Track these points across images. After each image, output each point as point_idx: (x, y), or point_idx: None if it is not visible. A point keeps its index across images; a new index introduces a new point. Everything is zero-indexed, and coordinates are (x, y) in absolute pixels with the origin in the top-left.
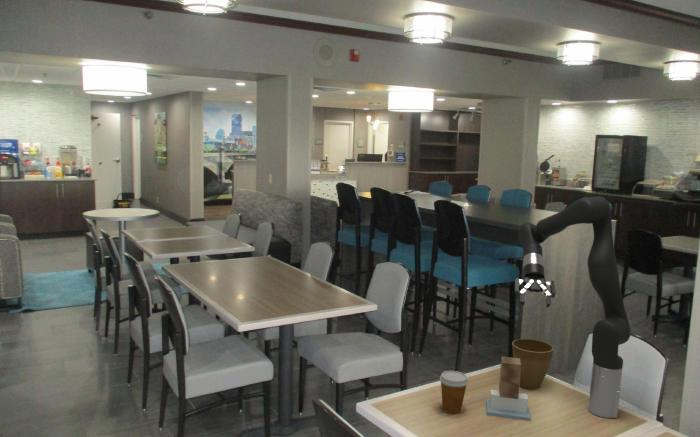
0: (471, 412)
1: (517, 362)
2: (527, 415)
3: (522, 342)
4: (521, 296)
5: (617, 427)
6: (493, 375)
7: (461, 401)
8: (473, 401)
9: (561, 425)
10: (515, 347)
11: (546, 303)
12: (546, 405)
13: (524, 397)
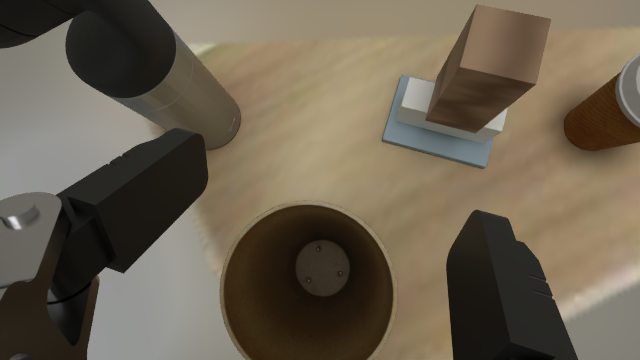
0: (537, 113)
1: (484, 26)
2: (405, 85)
3: None
4: (542, 321)
5: (221, 57)
6: (408, 344)
7: (592, 94)
8: (518, 171)
9: (338, 61)
10: (394, 273)
11: (182, 186)
12: (328, 150)
13: (415, 86)
